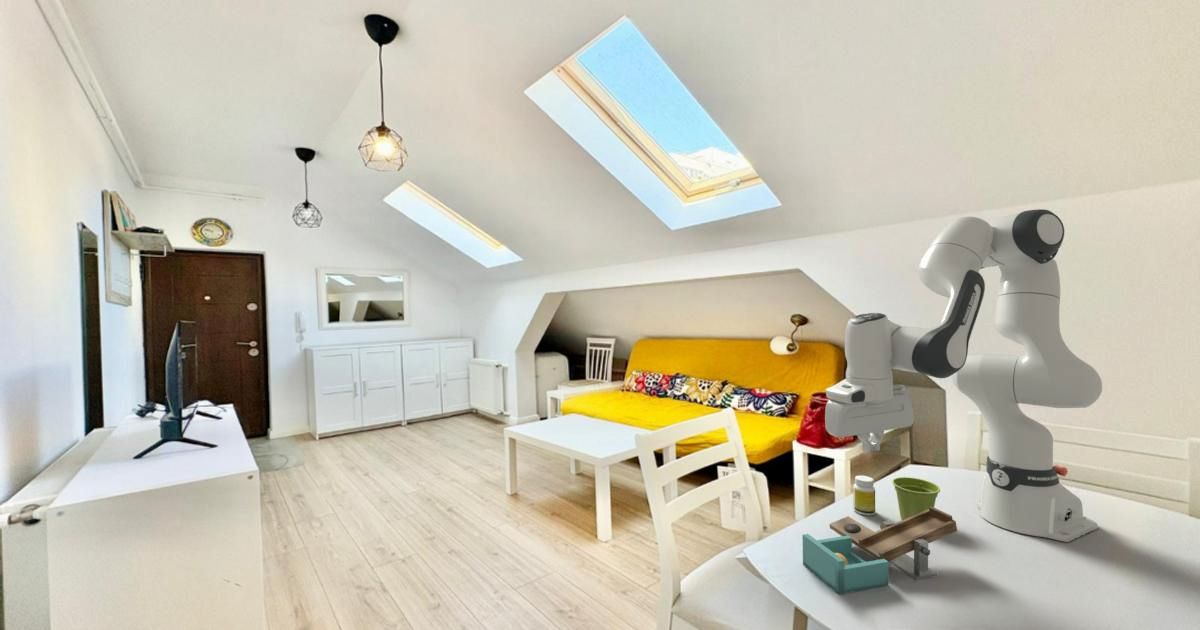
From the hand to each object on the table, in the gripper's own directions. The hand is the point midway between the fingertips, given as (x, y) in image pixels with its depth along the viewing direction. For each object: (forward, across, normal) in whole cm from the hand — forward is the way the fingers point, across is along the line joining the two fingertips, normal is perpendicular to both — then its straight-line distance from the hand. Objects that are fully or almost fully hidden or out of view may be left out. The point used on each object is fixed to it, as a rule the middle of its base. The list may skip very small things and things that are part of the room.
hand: (871, 451), depth 102 cm
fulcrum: (+19, +2, +10) cm, 22 cm away
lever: (+15, +1, +5) cm, 16 cm away
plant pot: (+21, -16, -4) cm, 27 cm away
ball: (+16, +17, +10) cm, 26 cm away
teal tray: (+19, +16, +10) cm, 27 cm away
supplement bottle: (+20, -8, -11) cm, 25 cm away
